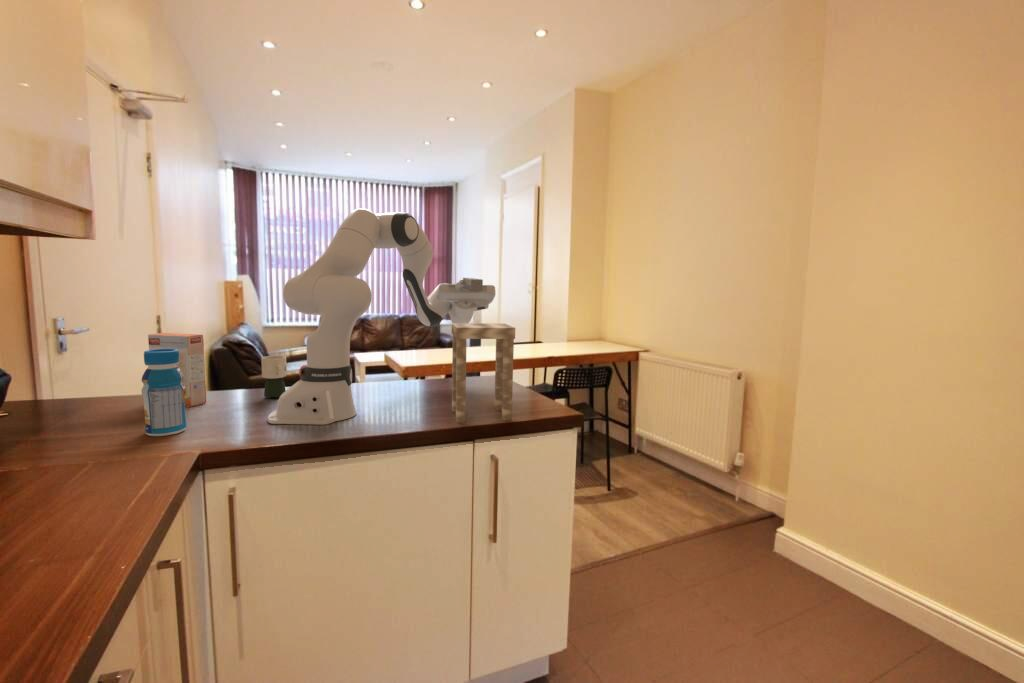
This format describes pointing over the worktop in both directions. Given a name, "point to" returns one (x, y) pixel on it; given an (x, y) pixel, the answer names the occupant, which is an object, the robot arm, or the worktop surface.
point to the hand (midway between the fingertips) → (469, 281)
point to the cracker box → (186, 362)
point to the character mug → (274, 375)
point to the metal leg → (473, 284)
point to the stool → (502, 368)
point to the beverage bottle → (163, 393)
